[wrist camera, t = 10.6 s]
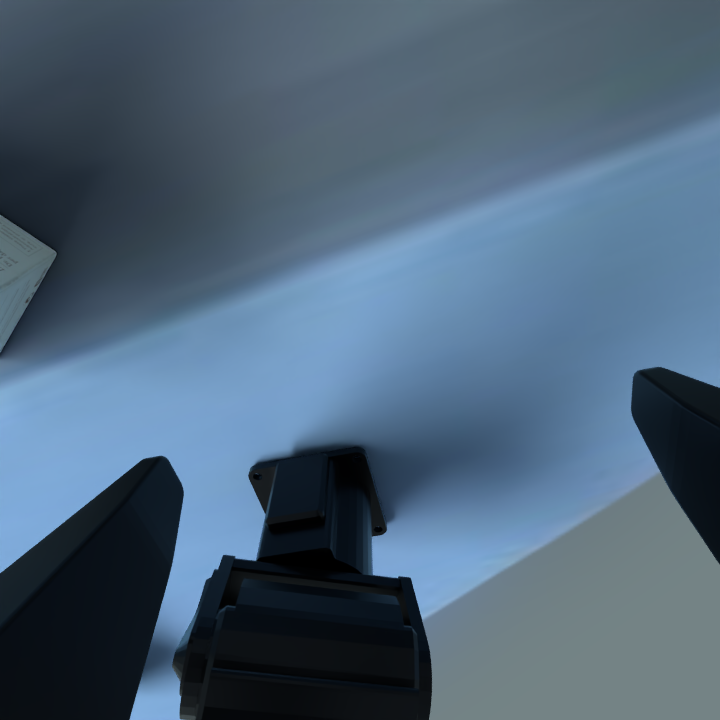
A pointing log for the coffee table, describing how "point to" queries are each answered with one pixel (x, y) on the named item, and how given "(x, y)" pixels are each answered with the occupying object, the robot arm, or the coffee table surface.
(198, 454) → the coffee table surface
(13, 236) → the supplement box
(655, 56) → the coffee table surface
